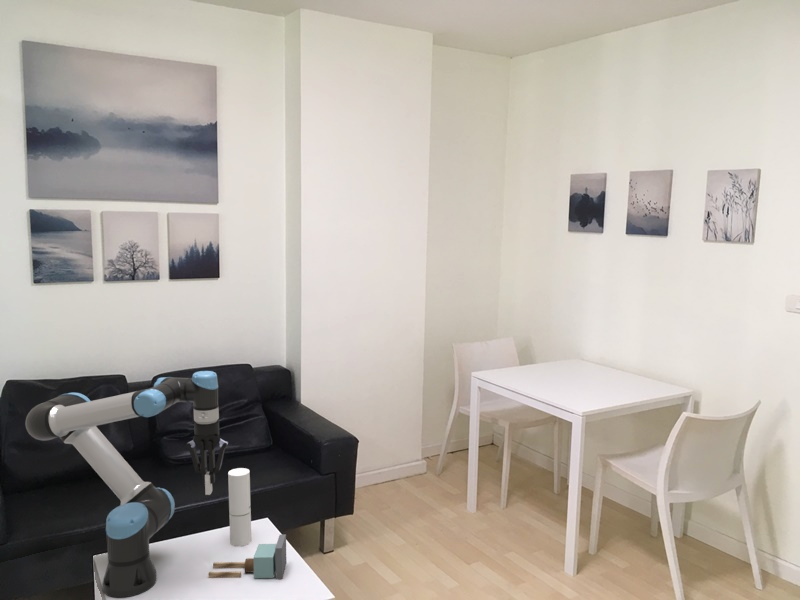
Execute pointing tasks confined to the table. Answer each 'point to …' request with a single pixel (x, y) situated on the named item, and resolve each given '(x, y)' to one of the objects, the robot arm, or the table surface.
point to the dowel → (249, 565)
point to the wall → (280, 556)
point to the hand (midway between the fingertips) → (208, 492)
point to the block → (264, 561)
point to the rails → (226, 565)
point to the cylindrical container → (239, 506)
